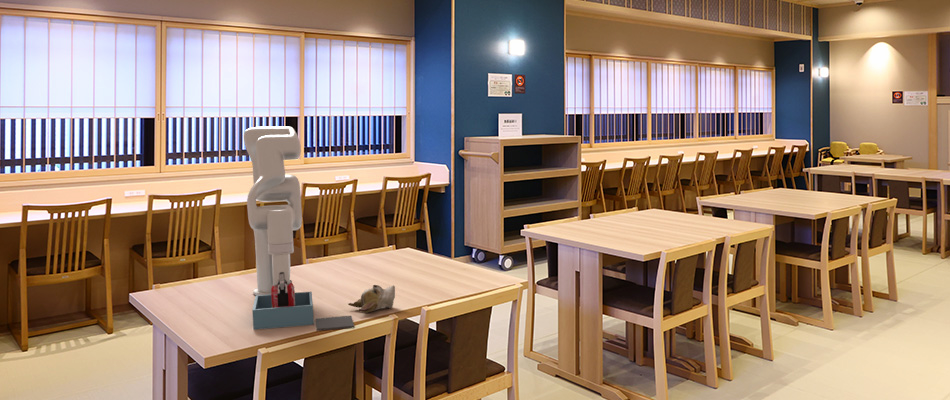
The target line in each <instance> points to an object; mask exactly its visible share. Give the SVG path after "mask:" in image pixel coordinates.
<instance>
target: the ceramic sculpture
mask: <svg viewBox="0 0 950 400" xmlns="http://www.w3.org/2000/svg"><path fill="white" fill-rule="evenodd" d="M381 286H382V285H381ZM381 286H380V285H376V284H373V286H372V288H368V289H365V290H364V291H363V292H362V293H361V295H360V299H358V300H356V301H355V302H353V303H352V302H349V303H347V304H348V306H351V307H354V308H358V311H359V312H361V313H371V312H375V311H378V310H379V309H382V308H387V309H391V308H393V306H394V301H395V299H396V286H395V285H394V284H393V285H391V286H389V287H386V288H382V287H381Z"/></svg>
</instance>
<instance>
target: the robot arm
mask: <svg viewBox="0 0 950 400" xmlns="http://www.w3.org/2000/svg"><path fill="white" fill-rule="evenodd" d="M243 142H244V146H245V149H246V151H247V154H248V156H249V159H250V161H251V165H252V179H253V182H252V183H253V185H251V188H250V189H249V191H248V194H247V199H246V207H247V218H248V225H249V226H250V228H251V229H252V230H253V235H254V245H255V263H256V264H255V267H256V283H257V287H256V288H254V289H253V290H252V294H253V295H255V296H257V295H270V294H271V288H272V286H274V287H275V285H277V284H278V293H277V297H278V306H279V307H280V306H288V305H289V298H288V293H287V286H288V285H289V282H290V280H291V254H293V253H295V249H294V232H293V231H298V230H300V228H301V227H302V225H303V211H302V197H301V196H302V194H301V185H300V181H299V178H298V177H297V175H294V174H286V168H285V161H286V160H290V161H291V160H297V159H299V158H300V156H301V152H302V150H301V148H302V145H301V142H300V138H299V135H298V133H297V132H296V130H295V128H293V127H292V126H283V125H282V126H281V125H280V126H255V127H254V126H253V127H249V128H247V129H246V130H244V132H243ZM257 201H258V202H262V203H273V202H274V203H275V202H287V204H280V205H279V204H278V205H277V204H276V205H275V204H274V205H273V204H272V205H262V206H257Z"/></svg>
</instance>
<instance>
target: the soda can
mask: <svg viewBox="0 0 950 400" xmlns="http://www.w3.org/2000/svg"><path fill="white" fill-rule="evenodd" d="M277 293H278V284H277V285H275V287H274V286H272V288H271V297H272V308H278V307H279V306H278V297H277ZM287 293H288V298H289V305H288V306H280V307H291V306H295V293H296V291H295V285H294V284H293V280H291V279H290V282H289V285H288V286H287Z"/></svg>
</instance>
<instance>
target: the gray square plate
mask: <svg viewBox="0 0 950 400" xmlns="http://www.w3.org/2000/svg"><path fill="white" fill-rule="evenodd" d="M315 327H316V328H315V329H316V331H317V330H319V331H330V330H332V331H333V330H341V329H342V330H343V329H353V328H352V327H354V328H355V324H354V320H353V318H352V315H343V316H330V317H317V318H315Z"/></svg>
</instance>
